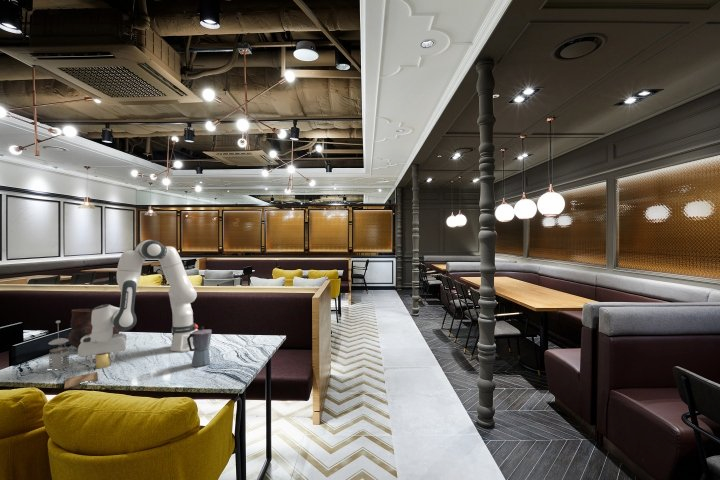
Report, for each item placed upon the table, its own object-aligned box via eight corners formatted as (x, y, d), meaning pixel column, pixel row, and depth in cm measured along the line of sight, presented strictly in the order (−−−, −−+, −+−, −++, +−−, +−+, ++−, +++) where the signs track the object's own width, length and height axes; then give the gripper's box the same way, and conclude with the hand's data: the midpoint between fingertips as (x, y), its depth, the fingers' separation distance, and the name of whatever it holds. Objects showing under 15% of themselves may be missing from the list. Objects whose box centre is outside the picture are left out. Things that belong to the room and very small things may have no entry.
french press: (43, 372, 166) (41, 323, 166) (51, 364, 176) (50, 318, 176) (68, 368, 171) (67, 321, 170) (75, 361, 181) (74, 316, 181)
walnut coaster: (97, 372, 165) (97, 371, 165) (98, 380, 156) (98, 379, 156) (65, 379, 157) (65, 378, 157) (64, 388, 148) (64, 387, 148)
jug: (124, 345, 206) (123, 306, 205) (71, 357, 187) (70, 314, 186) (114, 337, 222) (113, 301, 222) (65, 347, 203) (64, 308, 203)
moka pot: (218, 360, 180) (217, 324, 180) (196, 371, 166) (195, 332, 165) (204, 358, 183) (204, 322, 183) (181, 368, 169) (181, 330, 169)
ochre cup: (111, 363, 177) (110, 350, 177) (109, 367, 172) (109, 353, 172) (97, 365, 174) (96, 352, 174) (94, 369, 169) (94, 355, 169)
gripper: (127, 331, 181) (127, 355, 181) (79, 337, 171) (80, 363, 171) (125, 333, 176) (126, 359, 176) (76, 340, 165) (77, 367, 166)
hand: (103, 361), depth 173 cm, fingers open, 7 cm apart
